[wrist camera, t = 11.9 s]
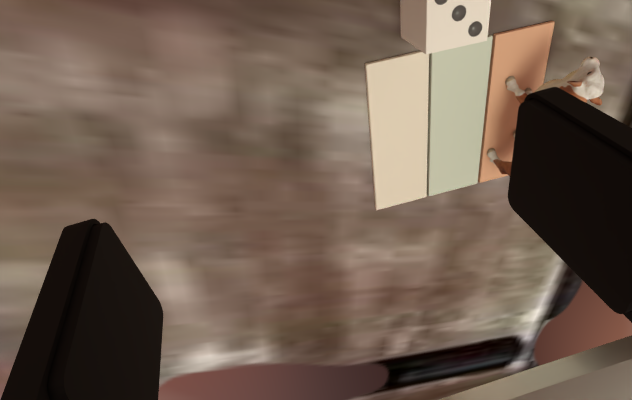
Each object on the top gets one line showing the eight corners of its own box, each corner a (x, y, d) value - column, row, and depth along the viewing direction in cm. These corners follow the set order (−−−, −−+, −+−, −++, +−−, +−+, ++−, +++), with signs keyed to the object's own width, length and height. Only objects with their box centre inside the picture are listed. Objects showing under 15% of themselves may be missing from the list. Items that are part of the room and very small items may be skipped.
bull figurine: (559, 38, 40) (630, 66, 33) (510, 165, 47) (560, 208, 41) (518, 37, 39) (583, 66, 32) (474, 167, 46) (521, 212, 40)
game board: (364, 63, 37) (366, 64, 37) (551, 20, 39) (554, 21, 39) (375, 207, 47) (376, 210, 46) (524, 168, 49) (527, 170, 48)
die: (399, -29, 34) (427, -18, 30) (459, -41, 34) (494, -32, 30) (400, 36, 37) (426, 54, 33) (455, 24, 37) (487, 40, 33)
